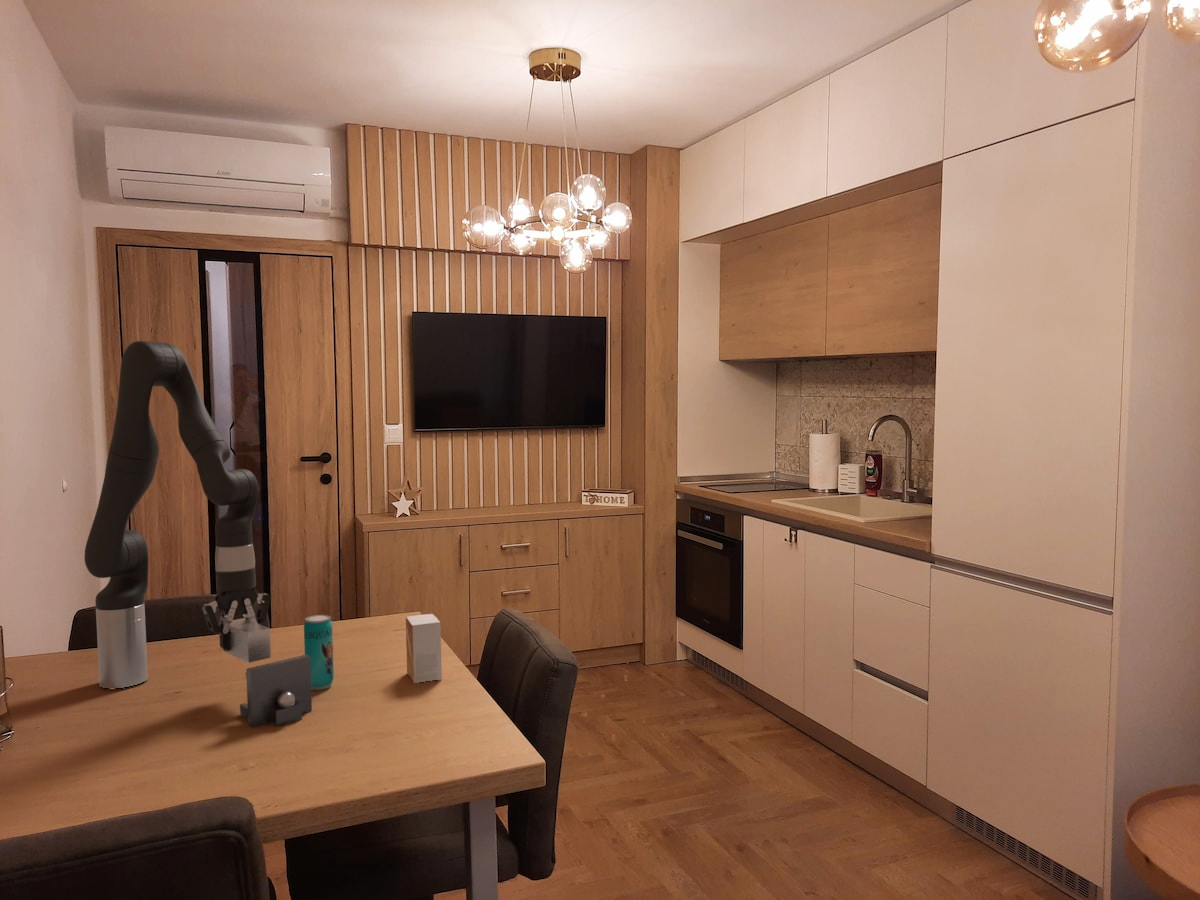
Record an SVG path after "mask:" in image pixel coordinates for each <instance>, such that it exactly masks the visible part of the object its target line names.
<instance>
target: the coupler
mask: <svg viewBox="0 0 1200 900" xmlns="http://www.w3.org/2000/svg"><path fill="white" fill-rule="evenodd" d="M245 670H246V672H245V679H246V694H247V695H246V696H247V697H246V700H247V703H246V702H244V703H240V704H239V712H240V713H239V714H240V715H241V716H242V717H244V718H246V719H247V725H248V727H250V728H251V729H253V728H257V727H261V726H264V725H267V724H271V723H272V724H271V725H273V726H274V727H280V725H281V726H284V725H287V723H288V724H290V723H294V722H298V721H300V720H303V715H302V714H305V713H308V712H311V711H312V709H313V708H312V705H313V704H312V690H311V667H310V656H309V655H305V654H303V655H298V656H294V657H289V658H286V659H282V660H277V661H273V662H270V663H264V664H261V665H256V666H252V667H248V668H246V669H245Z"/></svg>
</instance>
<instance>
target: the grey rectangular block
mask: <svg viewBox="0 0 1200 900" xmlns="http://www.w3.org/2000/svg"><path fill="white" fill-rule="evenodd" d="M270 629H271V628H270V627H268V626H265V625H262V624H257V623H255V622H252V621H249V620H246V619H245V617H243V618H237V619H233V621H232V623H231V624H230V628H229V632H228V633H230V651H224V652H225V653H226V654H230V655H232V656H233V657H235V658H238V659H241V661H244V662H246V663H248V664H251V663H254V662H259V661H261V660H267V659H270V658H272V653H271V649H272V648H271V631H270Z"/></svg>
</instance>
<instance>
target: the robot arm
mask: <svg viewBox="0 0 1200 900" xmlns="http://www.w3.org/2000/svg"><path fill="white" fill-rule="evenodd" d="M119 371H120V372H119V383H118V385H119V386H118V395H117V396H118V397H117V406H116V413H115V418H114V419H115V420H114V427H113V431H112V436H111V440H110V445H109V449H108V450H109V451H108V454H107V459H106V464H105V471H104V478H103V483H102V487H101V491H100V496H99V500H98V504H97V508H96V512H95V516H94V517H93V518H94V519H93V521H92V525H91V528H90V530H89V531H90V532H89V534H88V538H87V540H86V543H85V544H86V545H85V549H84V564H85V566H86V569H87V571H88V572H89V574H90V575H92V576H93V577H94V578H98V579H99V578H100V579H104V578H105V579H107V578H110V579H109V581H108V583H107V584H106V586H105V587H104V588H103V589H102V590H100V591H99V592H98V593H97V594H96V596H95V617H96V619H95V620H96V638H97V641H96V642H97V659H98V660H97V661H98V662H97V663H98V664H97V665H98V684H99V685H100V686H101V687H104V688H123V689H125V688H124V687H129V686H133V685H137V684H140V683H142V682H144V681H146V680H147V681H148V679H147V678H149V677H148V656H147V654H148V653H147V631H146V629H147V628H146V611H145V607H146V606H145V595H146V593H147V590H148V588H149V587H148V586H149V585H148V584H149V550H148V545H147V542H146V540H145V537H143V535H142V534H141V533H139V532H138V531H136V530H132V529H127V525H128V521H129V519H130V516H131V514H132V512H133V511H134V509H135V507H136V506H137V505H138V503H139V501H141V499H142V498H143V496H144V495H145V493H146V492H147V490H148V489H149V488H150V486H151V484H152V481H153V480H154V477H155V473H156V469H157V464H158V459H159V453H160V447H159V446H160V445H159V441H158V440H159V439H158V436H157V433H156V431H155V429H154V428H155V427H154V426H153V424H152V420H151V418H150V417H151V416H150V404H151V403H150V401H151V396H152V392H153V387H163V388H164V389H165V390H166V392H167V393H168V394H169V395H170V396H171V398H172V399H173V401H174V403H175V406H176V409H177V418H178V419H177V424H178V425H177V426H178V434H179V436H180V439H181V441H182V442H183V444H184V446H185V448H186V450H187V451H188V452H189V455H190V456H191V457H192V459H193V461H194V462H195V464H196V468H197V469H196V470H197V473H198V475H199V480H200V484H201V486H202V491H203V493H204V495H205V496H206V498H207V499H208V500H209V501H210V502H212V503H213V504H214V505H216V506H220V507H223V506H228V508H227V512H226V513H225V514H223V516H221V517H219V518H218V519H217V520H216V522H215V524H214V525H215V529H214V530H215V533H214V534H215V555H214V556H215V557H214V561H215V563H214V564H215V582H216V583H215V585H216V596H215V598H214V601H211V602H209V603H203V604H202V605H201V610H202V614H203V616H204V618H205V621H206V624H207V627H208V629H209V631H211V632H213V633H215V634H217V633H218V634H219V647H220V648H221V649H222V650H223V652H225V651H230V633H228V632H229V628H230V624H231V623H232V621H233V620H234V617H237V616H239V615H242V616H243V618H245V619H246V620H249V621H252V622H255V623H257V624H260V625H262V624H264V623H265V622H266V620H267V618H268V613H269V607H270V603H271V599H272V595H271V594H268V593H266V592H262V593H259V592H258V591H257V579H256V578H257V577H256V557H255V549H254V548H255V547H254V541H253V540H254V539H253V519H254V517H255V512H256V507H257V504H258V499H259V492H260V491H259V483H258V482H259V481H258V480H257V478H256V475H255V474H254V473H253V472H252V471H250V470H249V469H246V468H237V469H231V470H230V469H228V470H227V469H226V467H225V463H226V462H227V461H228V460H229V458H230V457H231V450H230V447H229V446H228V443H227V442H226V441H225V438H223V436H222V434H221V433H220V431H219V429H218V428H217V426H216V425H215V422H214V421H213V419H212V417H211V416H210V414H209V411H208V410H207V407H206V406H205V403H204V400H203V398H202V396H201V393H200V390H199V388H198V385H197V384H196V383H197V382H196V380H195V379H194V376H193V372H192V371H191V368H190V366H189V364H188V361H187V359H186V357H185V355H184V353H183V352H182V351H181V350H180V349H179V347H177V346H176V345H174V344H171V343H166V342H157V341H146V340H137V341H133V342H132V343H130V344H128V346H127V347H126V349H125V350H124V352H123V355H122V358H121V365H120V370H119ZM256 602H257V603H258V605H257V610H256V613H255V611H254V608H253V606H254V604H255V603H256ZM217 607H218V608H219V609H220V610H221V613H220V615H219V623H218V620H217V617H216V614H215V613H216V612H217ZM147 681H146V682H147ZM144 683H145V682H144ZM142 684H143V683H142ZM140 685H141V684H140ZM100 686H99V687H100ZM137 686H138V685H137ZM133 687H134V686H133ZM129 688H130V687H129Z"/></svg>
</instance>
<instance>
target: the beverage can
mask: <svg viewBox="0 0 1200 900" xmlns="http://www.w3.org/2000/svg"><path fill="white" fill-rule="evenodd" d="M304 620H305V622H304V625H303V635H304V636H303V638H304V640H303V643H304V645H303V646H304V655H309V656H310V667H311V691H322V690H323V689H324V690H327V689H329V688H330V687H331V686H332V684H333V681H334V677H335V675H334V673H335V671H334V669H335V668H334V644H333V641H334V639H333V634H334V633H333V622H332V619H331V615H328V614H317V615H316V614H315V615H311V616H308V617H307V616H306V617H305V619H304ZM324 690H323V691H324Z"/></svg>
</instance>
